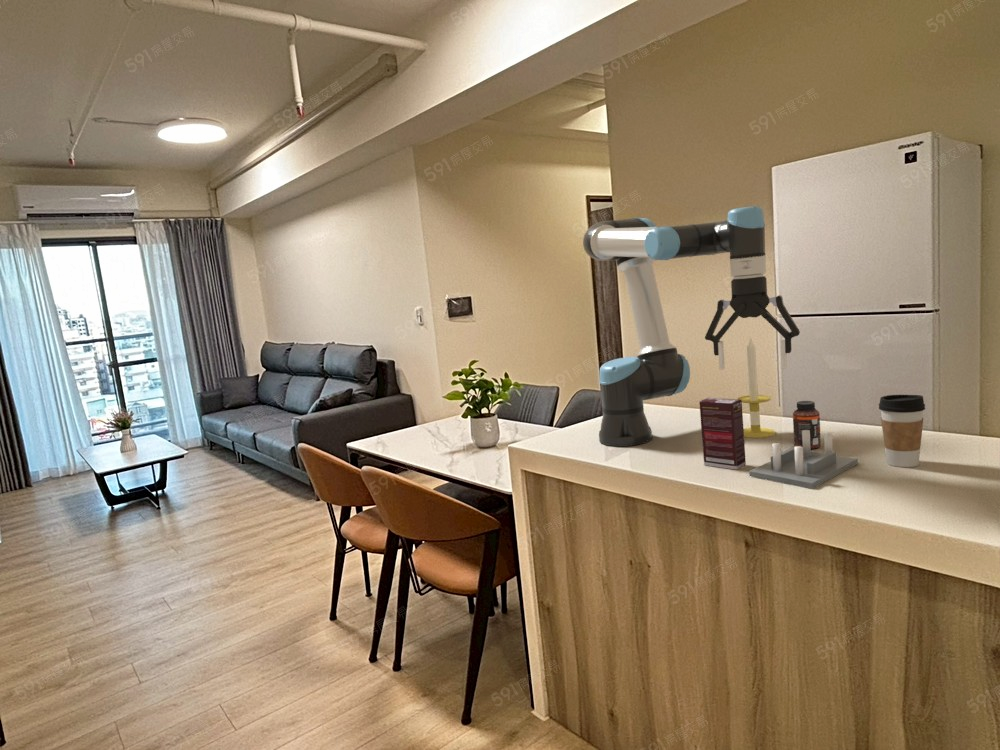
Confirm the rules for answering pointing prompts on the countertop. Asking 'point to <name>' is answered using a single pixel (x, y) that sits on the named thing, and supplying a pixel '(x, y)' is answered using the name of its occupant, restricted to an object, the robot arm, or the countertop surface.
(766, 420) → the countertop surface
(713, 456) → the supplement box
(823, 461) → the grey pegged stand
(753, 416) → the candle
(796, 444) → the supplement bottle
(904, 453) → the coffee cup
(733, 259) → the robot arm
